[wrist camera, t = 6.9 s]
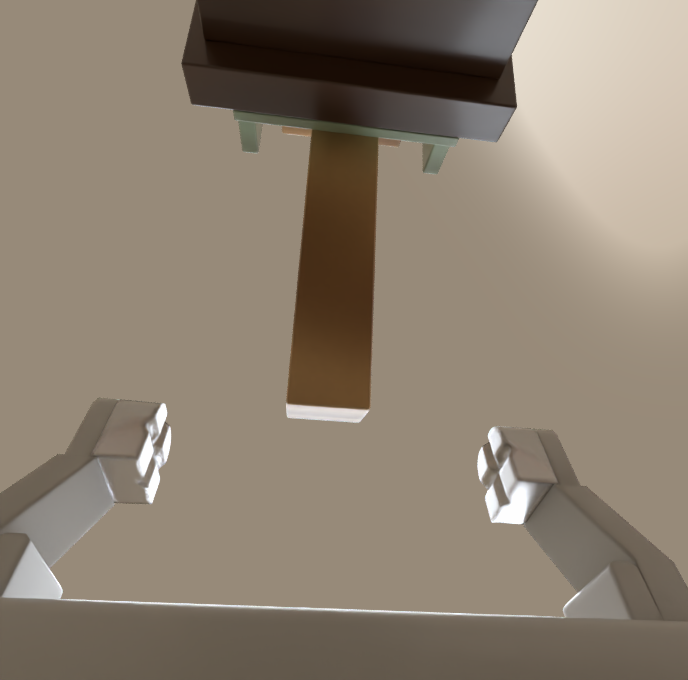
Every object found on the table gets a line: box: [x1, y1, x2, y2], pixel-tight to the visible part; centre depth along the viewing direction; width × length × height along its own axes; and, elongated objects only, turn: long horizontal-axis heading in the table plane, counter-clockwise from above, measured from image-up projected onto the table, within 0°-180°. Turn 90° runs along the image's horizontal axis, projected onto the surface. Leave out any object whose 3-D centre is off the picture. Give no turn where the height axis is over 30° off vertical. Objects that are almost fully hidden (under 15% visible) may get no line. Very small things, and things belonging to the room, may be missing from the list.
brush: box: [282, 126, 401, 423], centre depth 18 cm, size 21×5×4 cm, turn 3°
